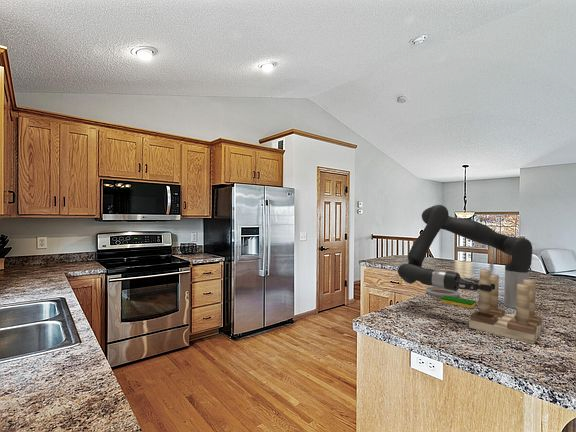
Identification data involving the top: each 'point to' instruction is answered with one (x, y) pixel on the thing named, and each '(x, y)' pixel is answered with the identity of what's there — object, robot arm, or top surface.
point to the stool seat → (511, 326)
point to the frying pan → (441, 292)
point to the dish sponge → (458, 301)
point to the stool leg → (484, 295)
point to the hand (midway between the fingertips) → (493, 287)
